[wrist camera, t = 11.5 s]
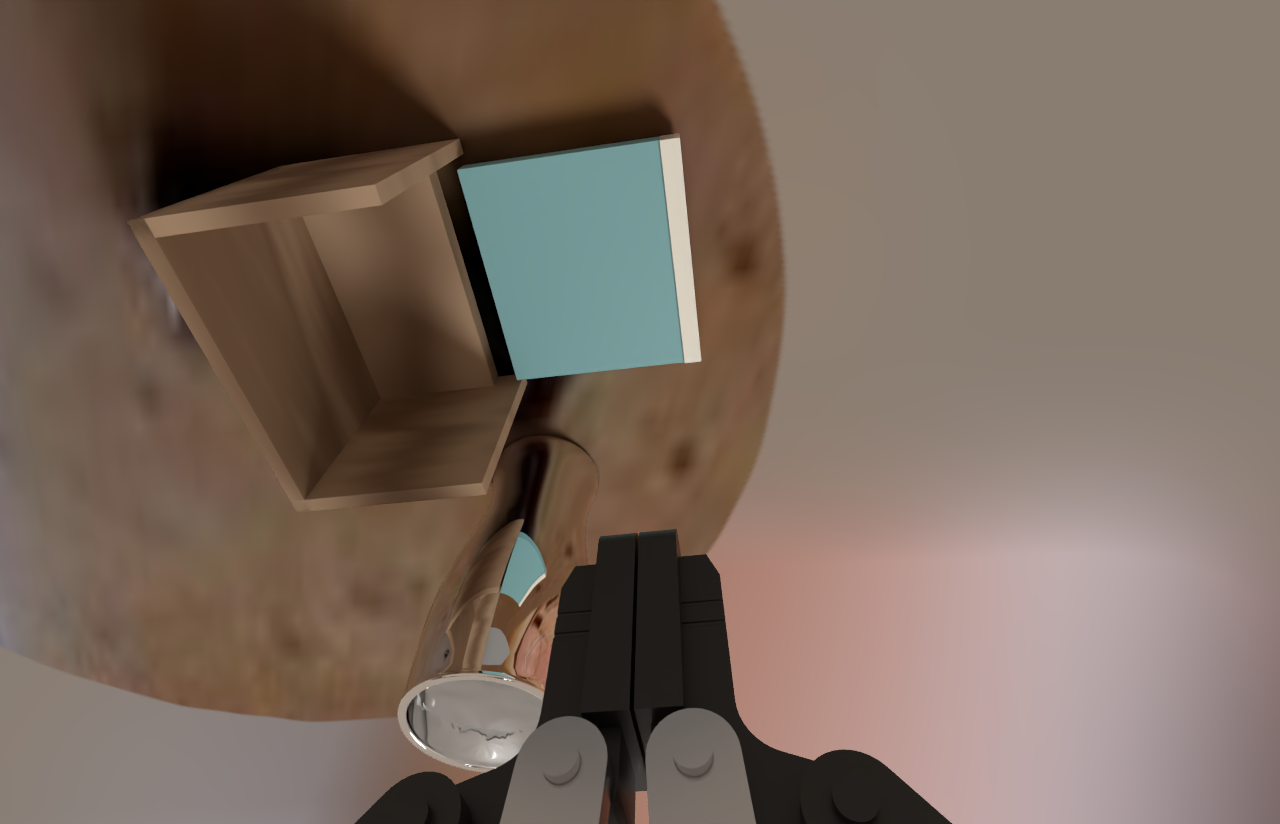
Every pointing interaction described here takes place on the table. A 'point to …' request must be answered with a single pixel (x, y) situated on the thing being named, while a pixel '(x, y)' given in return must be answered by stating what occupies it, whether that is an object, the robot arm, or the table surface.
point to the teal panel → (588, 256)
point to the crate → (342, 325)
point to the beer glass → (501, 610)
